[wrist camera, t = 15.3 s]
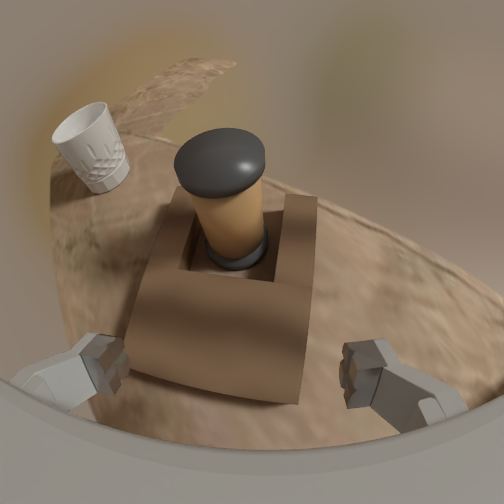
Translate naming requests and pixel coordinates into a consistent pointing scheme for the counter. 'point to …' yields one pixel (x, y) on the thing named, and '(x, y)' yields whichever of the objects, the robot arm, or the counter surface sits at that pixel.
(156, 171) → the counter surface
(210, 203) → the tan grey capped cylinder
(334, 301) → the counter surface
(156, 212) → the counter surface
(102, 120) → the white cup
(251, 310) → the notched board
